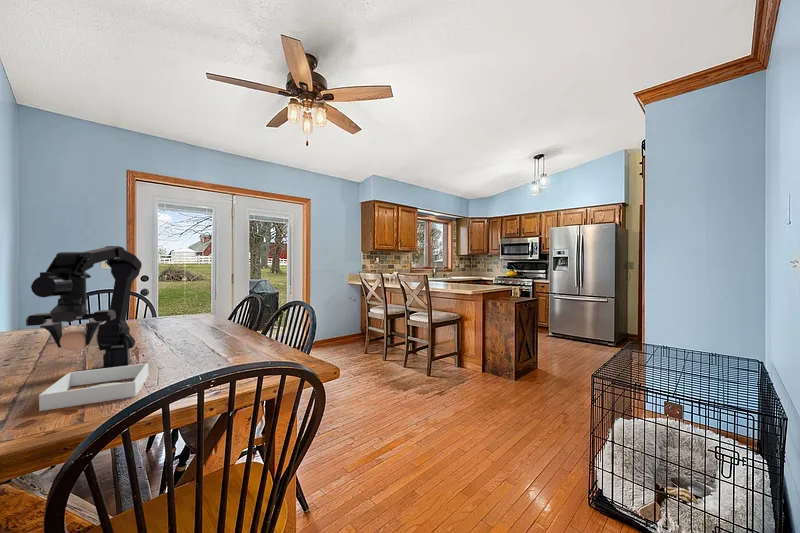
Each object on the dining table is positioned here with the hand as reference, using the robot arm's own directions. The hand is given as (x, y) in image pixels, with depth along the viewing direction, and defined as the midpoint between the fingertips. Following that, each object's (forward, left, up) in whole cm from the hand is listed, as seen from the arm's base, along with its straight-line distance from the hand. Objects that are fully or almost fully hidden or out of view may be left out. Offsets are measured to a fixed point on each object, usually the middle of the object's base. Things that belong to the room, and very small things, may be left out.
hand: (74, 346), depth 102 cm
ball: (0, 0, -1) cm, 1 cm away
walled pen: (-8, +10, -12) cm, 17 cm away
